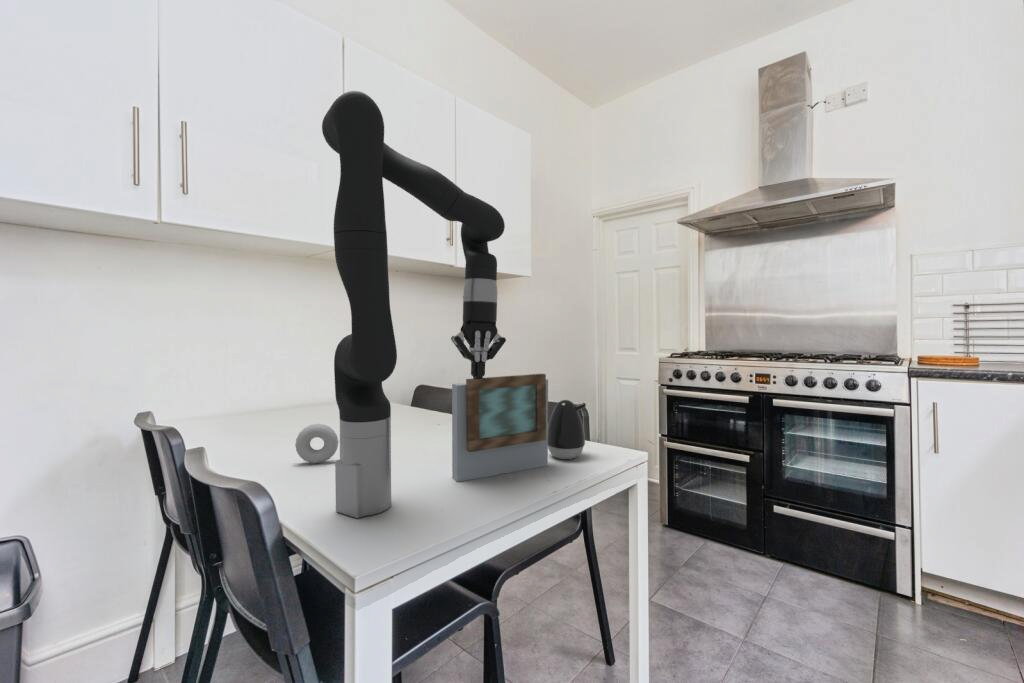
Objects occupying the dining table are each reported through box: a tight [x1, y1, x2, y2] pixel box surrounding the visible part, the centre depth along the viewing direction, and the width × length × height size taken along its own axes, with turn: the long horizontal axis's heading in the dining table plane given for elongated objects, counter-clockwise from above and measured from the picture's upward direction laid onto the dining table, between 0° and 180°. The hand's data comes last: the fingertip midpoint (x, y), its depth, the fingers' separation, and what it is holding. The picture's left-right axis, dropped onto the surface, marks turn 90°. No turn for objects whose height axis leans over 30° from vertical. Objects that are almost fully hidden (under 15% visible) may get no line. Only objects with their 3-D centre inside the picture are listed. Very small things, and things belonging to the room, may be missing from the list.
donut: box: [295, 423, 339, 464], centre depth 111 cm, size 10×4×10 cm, turn 104°
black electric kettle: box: [548, 399, 587, 460], centre depth 117 cm, size 10×10×15 cm
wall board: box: [451, 378, 549, 482], centre depth 105 cm, size 24×3×22 cm, turn 119°
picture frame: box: [465, 373, 547, 452], centre depth 102 cm, size 20×2×16 cm, turn 119°
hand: (477, 378), depth 98 cm, fingers closed
